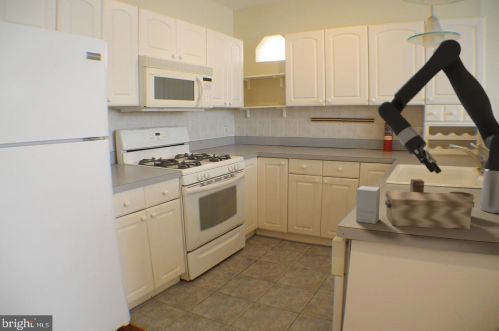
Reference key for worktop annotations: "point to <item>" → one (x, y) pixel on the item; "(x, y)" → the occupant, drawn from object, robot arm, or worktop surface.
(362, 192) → the supplement box
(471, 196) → the flower pot
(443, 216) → the wooden chest
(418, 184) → the wooden block
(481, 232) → the worktop surface
